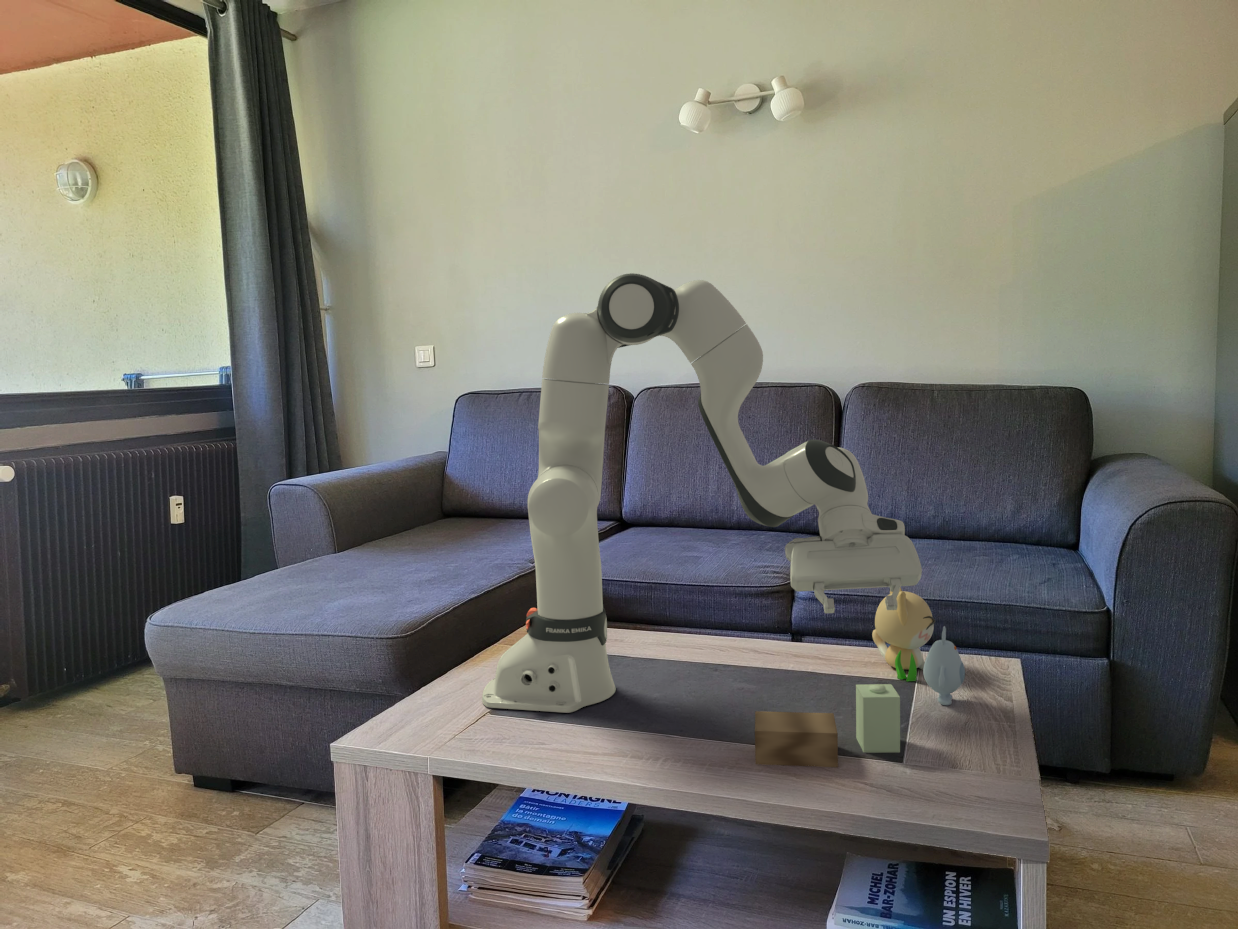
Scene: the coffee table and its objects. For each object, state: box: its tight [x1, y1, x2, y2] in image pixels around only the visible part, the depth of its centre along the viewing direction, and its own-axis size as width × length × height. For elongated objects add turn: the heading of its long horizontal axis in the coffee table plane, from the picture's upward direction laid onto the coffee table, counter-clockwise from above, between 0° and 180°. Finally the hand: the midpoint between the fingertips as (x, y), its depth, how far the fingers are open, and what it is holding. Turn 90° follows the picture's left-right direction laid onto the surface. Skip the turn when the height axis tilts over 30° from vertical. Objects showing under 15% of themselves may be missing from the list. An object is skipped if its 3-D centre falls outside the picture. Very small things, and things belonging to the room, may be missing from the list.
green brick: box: [855, 683, 901, 754], centre depth 125 cm, size 5×5×8 cm
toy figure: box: [922, 625, 966, 706], centre depth 140 cm, size 11×6×12 cm, turn 156°
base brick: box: [754, 710, 839, 768], centre depth 123 cm, size 11×7×5 cm, turn 81°
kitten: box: [871, 586, 936, 682], centre depth 156 cm, size 15×10×15 cm
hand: (860, 610), depth 136 cm, fingers open, 8 cm apart
